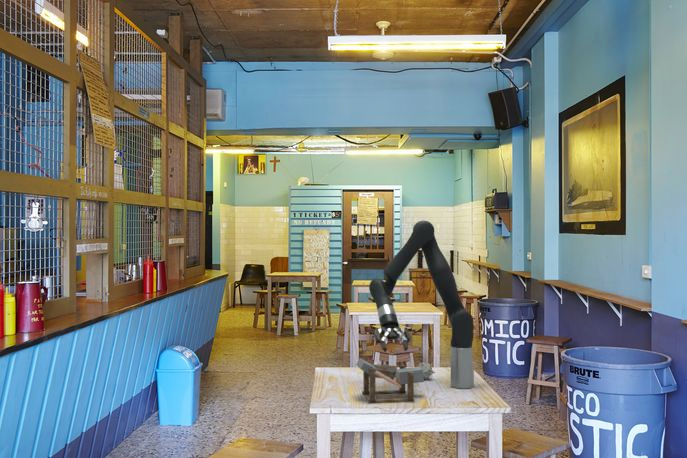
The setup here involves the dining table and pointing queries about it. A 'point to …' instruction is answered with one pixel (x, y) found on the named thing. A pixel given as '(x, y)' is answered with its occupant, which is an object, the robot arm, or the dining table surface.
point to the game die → (426, 370)
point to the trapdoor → (366, 366)
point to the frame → (370, 390)
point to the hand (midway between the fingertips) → (395, 350)
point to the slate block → (402, 375)
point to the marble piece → (386, 370)
